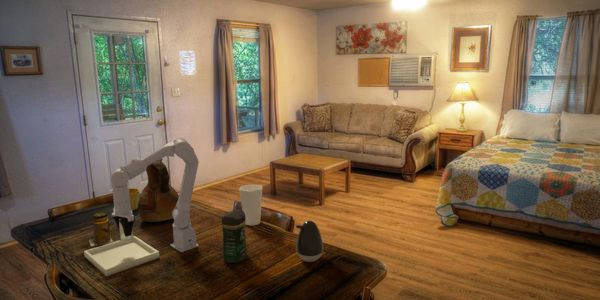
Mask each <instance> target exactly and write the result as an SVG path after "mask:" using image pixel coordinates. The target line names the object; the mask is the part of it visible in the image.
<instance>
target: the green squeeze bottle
mask: <svg viewBox="0 0 600 300" xmlns="http://www.w3.org/2000/svg"><path fill="white" fill-rule="evenodd" d="M245 223H246V218H245V213H244V212H243V210H242V209H233V210H231V211H228V212H226V213H225V214H223V215H222V217H221V228H222V244H223V245H222V259H223V261H224V262H227V263H228V264H229V263H230V264H234V263H235V264H236V263H237V264H238V263H240V262H242V261H243V260H244V259H245V258H246V257H247V255H248V249H247V248H248V247H247V237H246V224H245Z"/></svg>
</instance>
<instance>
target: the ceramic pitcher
mask: <svg viewBox="0 0 600 300" xmlns="http://www.w3.org/2000/svg"><path fill="white" fill-rule="evenodd" d="M163 160H164V159H163V158H162V159H160V160H158V161H156V162H154V163H152V164H150V165H148V166H147V169H146V171H145V172H146V175H147V184H146V185H145V186H144V188H143V189H142V190H141V191H140V196H139V197H138V204H137V209H138V211H137V212H138V215H139V218H140V219H141V221H145V222H148V223H149V222H151V223H153V222H164V221H168V220H174V218H173V217H172V212H173V210H174V209H175V207H176V203H177V202H178V199H179V194H178V192H177V190H176V189H175V188H174V187H173V186H172V185H171V184H170V174H169V170H168V168H167V166H166V164H165V163H164V162H163Z"/></svg>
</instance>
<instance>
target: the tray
mask: <svg viewBox="0 0 600 300" xmlns="http://www.w3.org/2000/svg"><path fill="white" fill-rule="evenodd" d="M83 253H84V254H83V255H84V258H85V259H86V260H88V262H90V263H91V264H92V265H93V266H94V267H95V268H96V269H97V270H99V271H100V273H102V274H103V275H104V276H105V277H109V276H112V275H115V274H117V273H120V272H123V271H126V270H129V269H131V268H134V267H137V266H140V265H142V264H145V263H147V262H151V261H154V260H156V259H159V258H160V251H159V250H158V249H156V248H154V247H153V246H152V245H149V244H148V243H146V242H145V241H143V240H142V239H140V238H139V237H137V236H136V235H133V241H131V242H127V243H123V242H121V241H120V239H119V240H116V241H113V242H109V243H105V244H101V245H98V246H95V247H93V248H90V249H87V250H86V249H85V250H84V251H83Z"/></svg>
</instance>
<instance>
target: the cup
mask: <svg viewBox="0 0 600 300" xmlns="http://www.w3.org/2000/svg"><path fill="white" fill-rule="evenodd" d="M263 189H264V188H263V185H260V184H254V183H253V184H246V185H241V186H240V187H239V189H238V191H239V196H240V203H241V210H242V211H243V212H244V213H245V218H246V223H245V226H246V225H247V226H256V225H260V223H261V215H262V204H263V203H262V199H263Z"/></svg>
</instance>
